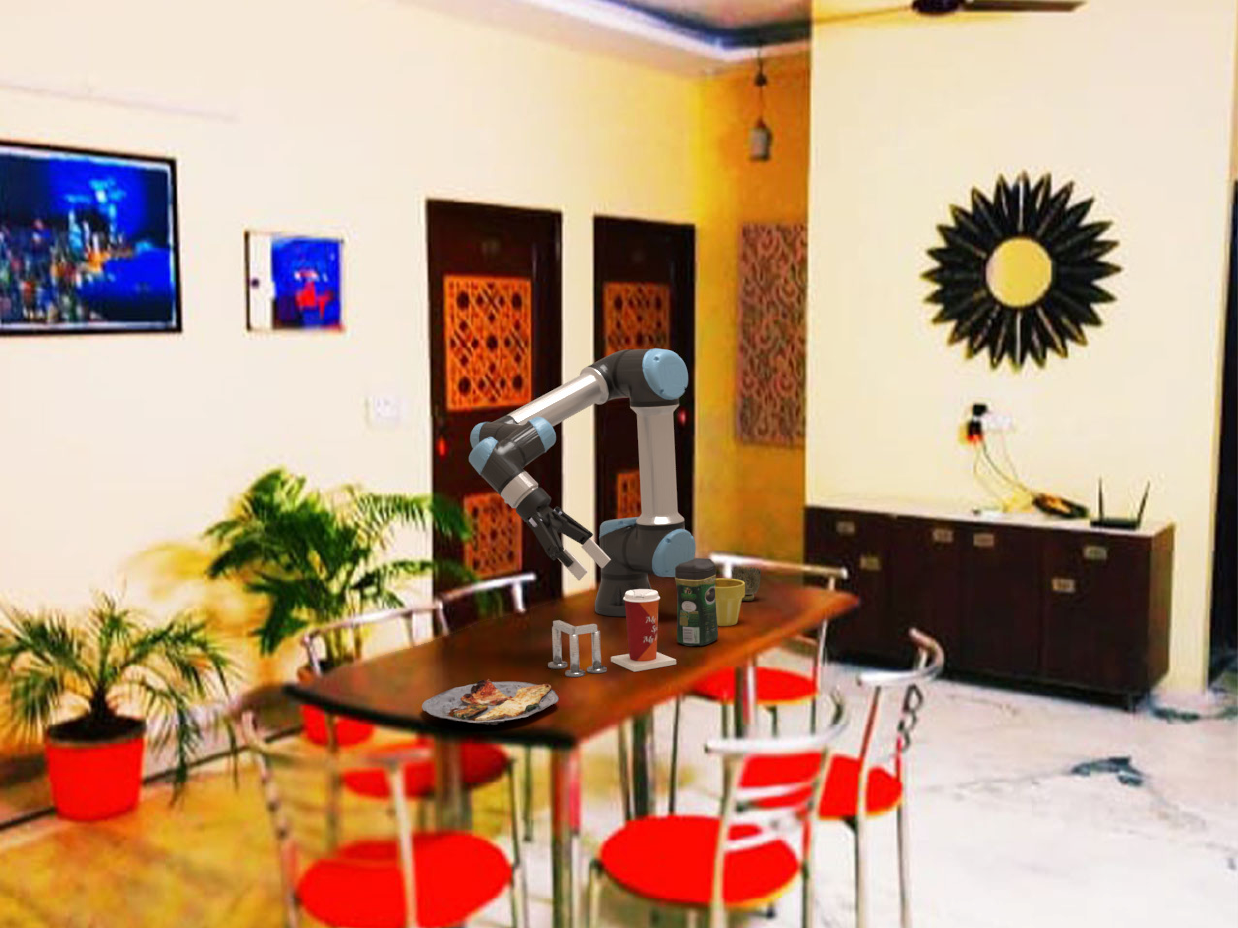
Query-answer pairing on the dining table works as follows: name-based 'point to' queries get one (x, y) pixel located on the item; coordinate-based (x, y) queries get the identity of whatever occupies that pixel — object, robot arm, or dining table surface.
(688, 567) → the coffee jar
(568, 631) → the bent rail
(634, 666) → the cream tile
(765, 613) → the dining table surface
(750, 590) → the cup
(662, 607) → the dining table surface
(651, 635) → the paper cup
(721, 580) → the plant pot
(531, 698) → the food plate
